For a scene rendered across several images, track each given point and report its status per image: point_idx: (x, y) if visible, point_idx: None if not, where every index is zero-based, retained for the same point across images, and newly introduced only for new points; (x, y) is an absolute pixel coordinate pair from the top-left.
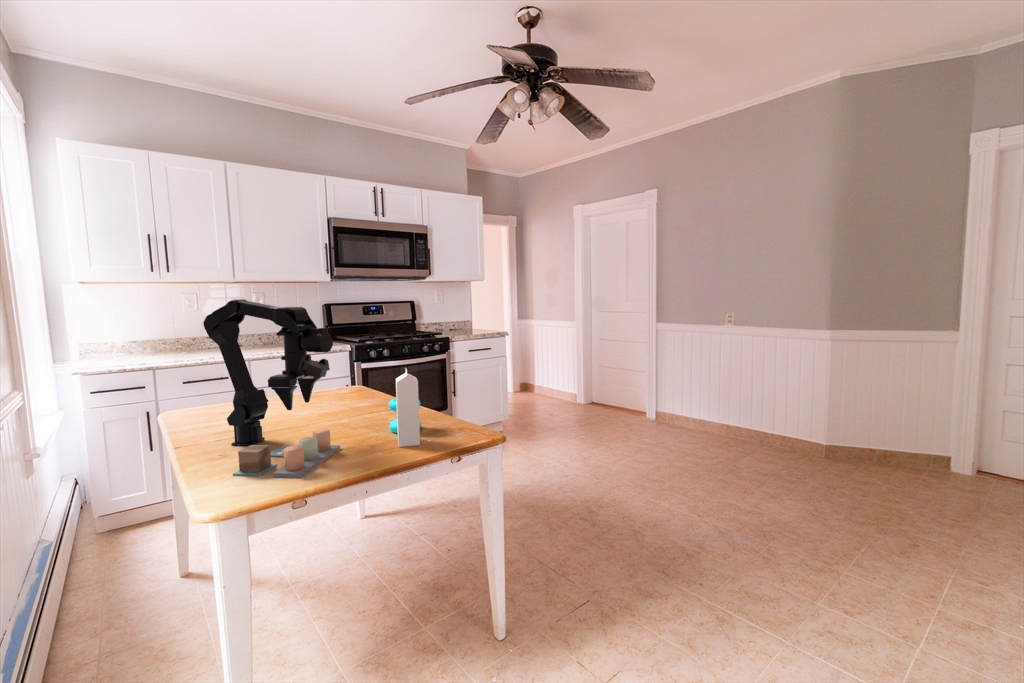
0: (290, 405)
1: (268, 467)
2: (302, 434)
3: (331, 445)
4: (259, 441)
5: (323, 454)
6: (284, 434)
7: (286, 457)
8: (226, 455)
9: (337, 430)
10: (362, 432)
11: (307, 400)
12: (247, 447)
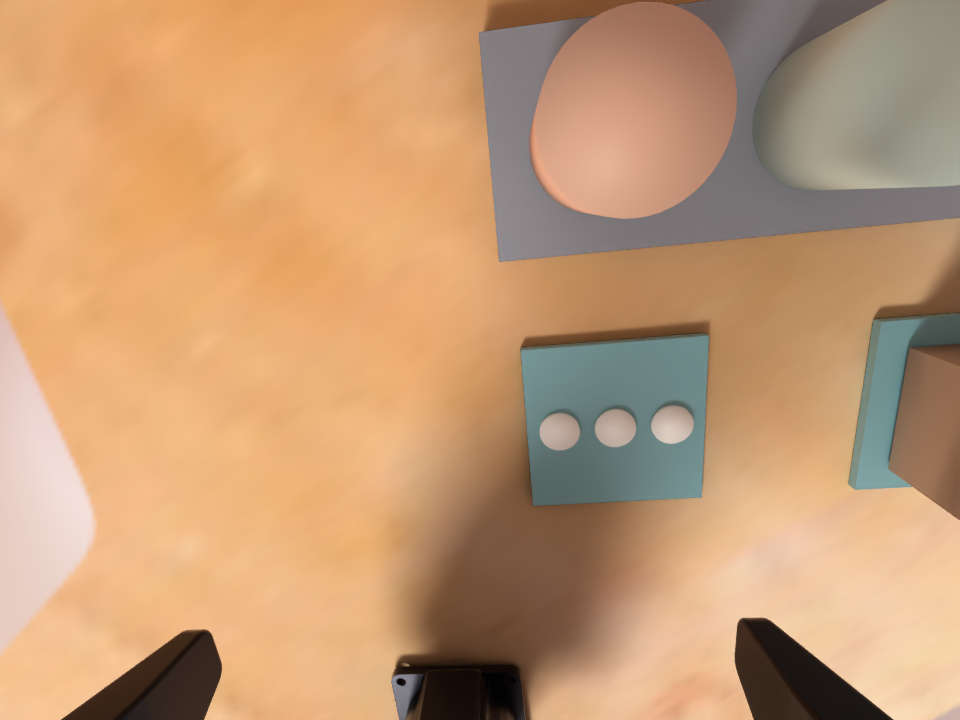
0: (859, 693)
1: (951, 336)
2: (249, 524)
3: (495, 115)
4: (447, 667)
5: (736, 37)
6: (282, 619)
7: None
8: (678, 689)
9: (86, 344)
10: (42, 99)
11: (191, 668)
12: None
